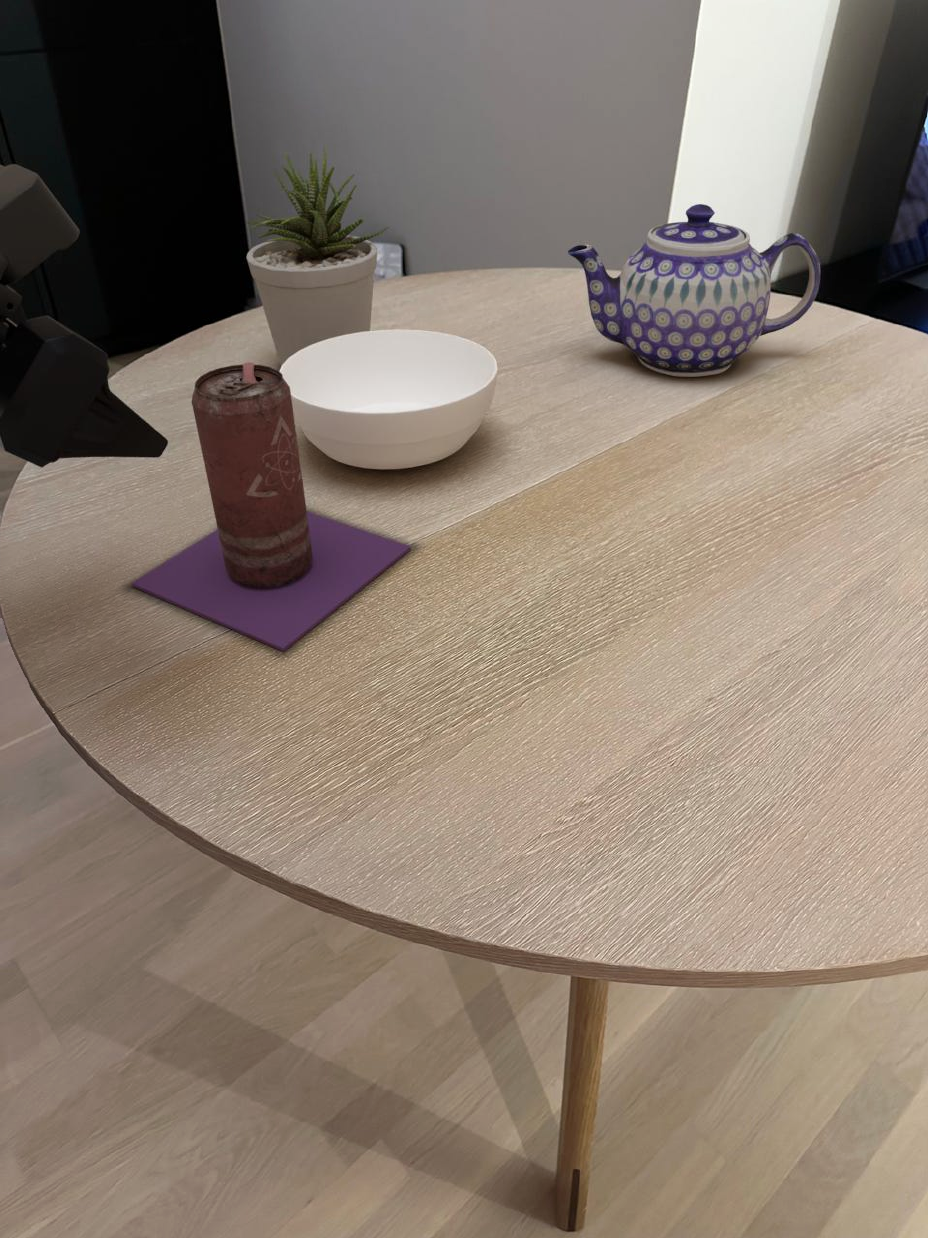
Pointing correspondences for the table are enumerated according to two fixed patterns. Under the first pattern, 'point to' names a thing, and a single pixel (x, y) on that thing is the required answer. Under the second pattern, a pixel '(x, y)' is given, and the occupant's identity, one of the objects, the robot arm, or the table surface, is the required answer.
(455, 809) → the table surface
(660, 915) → the table surface
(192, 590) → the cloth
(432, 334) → the bowl
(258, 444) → the can
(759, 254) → the teapot
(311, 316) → the potted plant
